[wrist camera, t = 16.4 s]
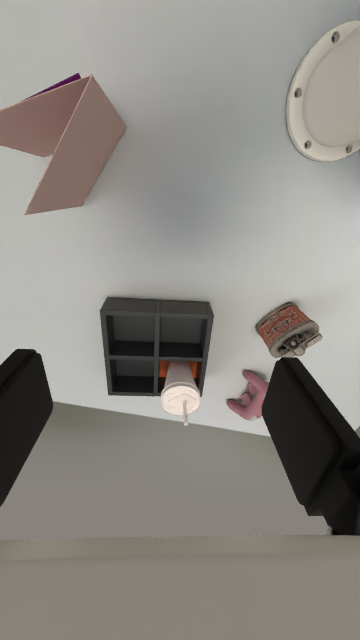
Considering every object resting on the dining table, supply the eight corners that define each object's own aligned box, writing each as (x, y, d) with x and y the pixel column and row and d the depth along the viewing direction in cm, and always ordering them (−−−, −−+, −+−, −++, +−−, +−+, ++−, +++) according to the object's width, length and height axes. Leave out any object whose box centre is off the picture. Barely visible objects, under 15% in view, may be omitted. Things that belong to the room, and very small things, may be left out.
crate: (209, 301, 41) (213, 315, 37) (198, 378, 49) (201, 397, 45) (107, 297, 40) (99, 310, 36) (113, 376, 48) (108, 395, 44)
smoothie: (195, 374, 48) (204, 438, 36) (163, 376, 48) (161, 441, 35) (194, 348, 45) (204, 407, 32) (160, 350, 45) (157, 410, 32)
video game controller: (238, 399, 55) (259, 425, 50) (223, 403, 52) (244, 431, 47) (257, 366, 51) (282, 391, 46) (242, 369, 48) (267, 395, 43)
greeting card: (123, 118, 29) (86, 57, 16) (144, 185, 33) (127, 180, 20) (39, 148, 30) (-61, 115, 17) (68, 210, 34) (3, 222, 21)
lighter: (261, 336, 45) (283, 372, 36) (251, 325, 44) (272, 359, 35) (299, 310, 43) (333, 341, 34) (290, 297, 42) (322, 326, 33)
